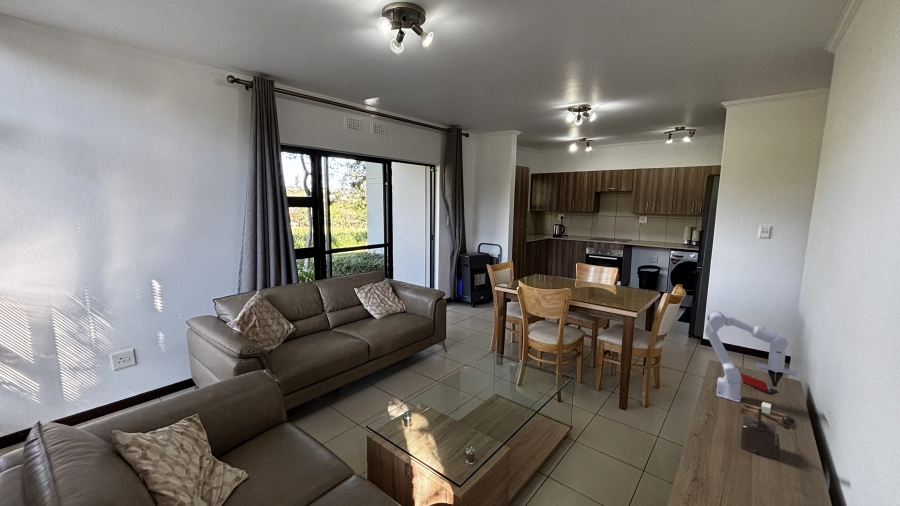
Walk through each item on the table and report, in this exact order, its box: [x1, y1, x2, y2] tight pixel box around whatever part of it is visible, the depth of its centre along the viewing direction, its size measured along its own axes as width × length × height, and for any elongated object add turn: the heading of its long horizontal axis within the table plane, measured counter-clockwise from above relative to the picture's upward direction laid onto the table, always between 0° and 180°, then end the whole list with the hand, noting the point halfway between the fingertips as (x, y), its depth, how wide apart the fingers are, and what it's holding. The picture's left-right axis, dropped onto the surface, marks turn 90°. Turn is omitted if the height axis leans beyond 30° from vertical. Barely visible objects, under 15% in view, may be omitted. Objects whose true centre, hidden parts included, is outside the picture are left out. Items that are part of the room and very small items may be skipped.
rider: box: [760, 401, 772, 415], centre depth 165 cm, size 3×5×5 cm, turn 134°
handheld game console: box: [739, 372, 778, 395], centre depth 193 cm, size 12×11×7 cm
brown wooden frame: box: [740, 402, 790, 427], centre depth 166 cm, size 16×6×3 cm, turn 44°
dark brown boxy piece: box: [739, 407, 796, 459], centre depth 142 cm, size 16×11×18 cm
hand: (774, 386), depth 175 cm, fingers closed
